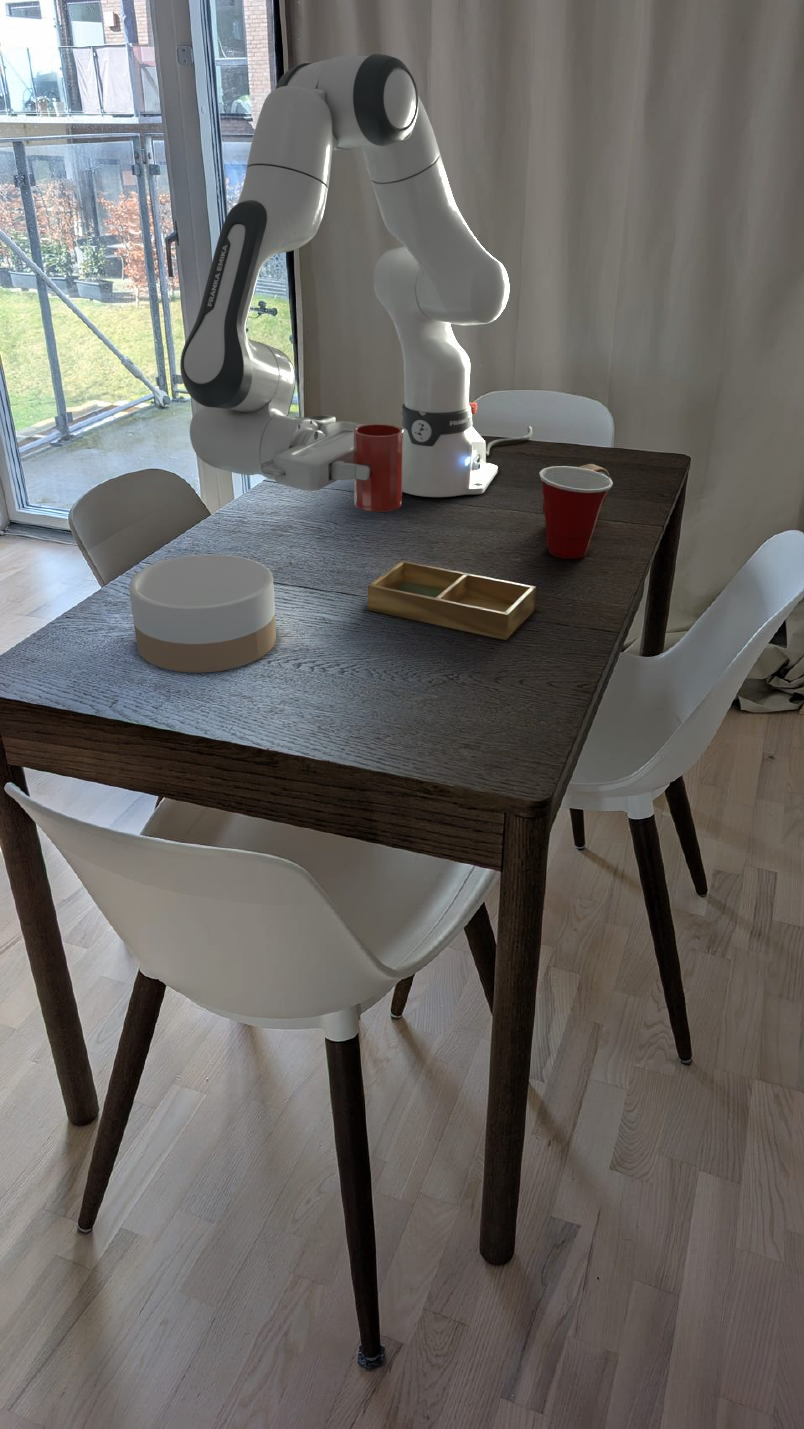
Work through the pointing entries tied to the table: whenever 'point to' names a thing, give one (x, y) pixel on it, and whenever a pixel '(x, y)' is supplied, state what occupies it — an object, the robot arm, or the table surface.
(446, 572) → the caddy
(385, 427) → the cup
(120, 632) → the table surface
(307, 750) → the table surface
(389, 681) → the table surface
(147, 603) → the bowl
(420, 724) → the table surface
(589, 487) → the plastic cup
